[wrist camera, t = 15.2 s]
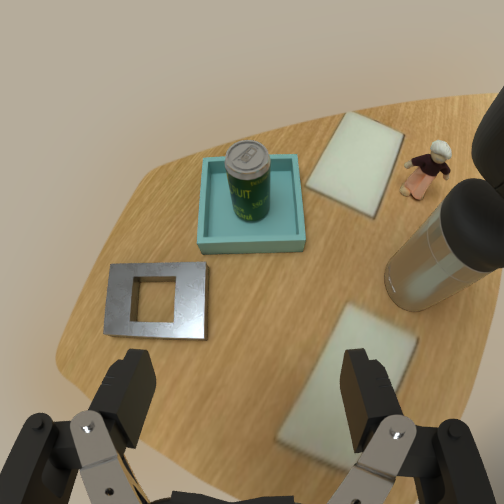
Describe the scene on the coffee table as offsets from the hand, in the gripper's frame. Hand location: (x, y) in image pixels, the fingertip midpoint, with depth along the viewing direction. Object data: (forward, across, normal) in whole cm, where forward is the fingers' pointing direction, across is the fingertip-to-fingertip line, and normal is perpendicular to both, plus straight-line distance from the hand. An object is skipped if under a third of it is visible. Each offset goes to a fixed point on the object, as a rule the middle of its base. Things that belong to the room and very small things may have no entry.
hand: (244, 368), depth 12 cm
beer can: (+36, +1, +3) cm, 36 cm away
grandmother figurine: (+39, -26, +2) cm, 47 cm away
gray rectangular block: (+27, +14, +14) cm, 33 cm away
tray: (+37, +1, +4) cm, 37 cm away
